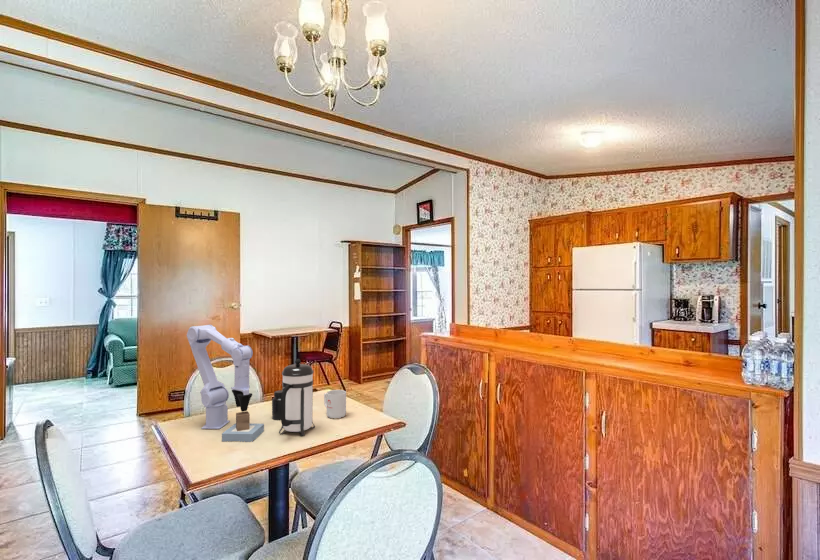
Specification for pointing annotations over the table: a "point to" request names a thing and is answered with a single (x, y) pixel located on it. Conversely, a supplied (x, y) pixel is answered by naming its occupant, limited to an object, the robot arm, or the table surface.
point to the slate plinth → (243, 433)
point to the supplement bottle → (276, 405)
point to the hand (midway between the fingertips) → (241, 408)
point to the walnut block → (242, 421)
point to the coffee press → (297, 398)
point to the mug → (335, 403)
